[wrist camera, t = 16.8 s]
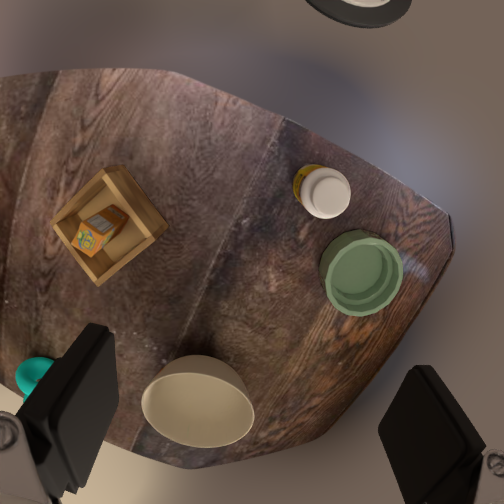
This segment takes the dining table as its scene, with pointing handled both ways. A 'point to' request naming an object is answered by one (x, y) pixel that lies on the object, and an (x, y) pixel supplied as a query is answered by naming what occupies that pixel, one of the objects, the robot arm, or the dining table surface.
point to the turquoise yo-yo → (31, 373)
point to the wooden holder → (132, 235)
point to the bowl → (198, 402)
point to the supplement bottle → (321, 190)
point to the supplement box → (99, 230)
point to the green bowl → (360, 272)
